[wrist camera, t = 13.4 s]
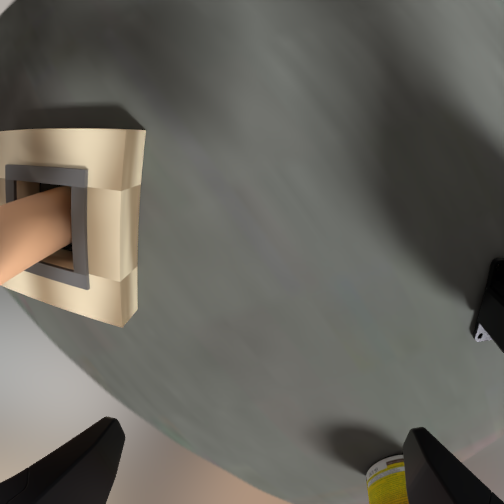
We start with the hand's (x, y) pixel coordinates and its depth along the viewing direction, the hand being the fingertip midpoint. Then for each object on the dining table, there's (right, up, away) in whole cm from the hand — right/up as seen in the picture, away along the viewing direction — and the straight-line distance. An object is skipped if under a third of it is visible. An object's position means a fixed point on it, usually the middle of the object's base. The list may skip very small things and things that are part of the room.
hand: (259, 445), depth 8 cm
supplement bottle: (+14, -17, +17) cm, 28 cm away
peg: (-13, +8, +12) cm, 19 cm away
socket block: (-13, +8, +12) cm, 19 cm away
